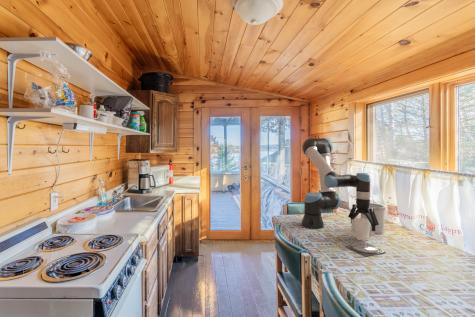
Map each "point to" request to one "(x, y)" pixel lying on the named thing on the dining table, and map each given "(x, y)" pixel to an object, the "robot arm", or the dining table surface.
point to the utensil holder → (377, 216)
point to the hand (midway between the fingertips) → (362, 232)
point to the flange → (365, 249)
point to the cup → (362, 228)
